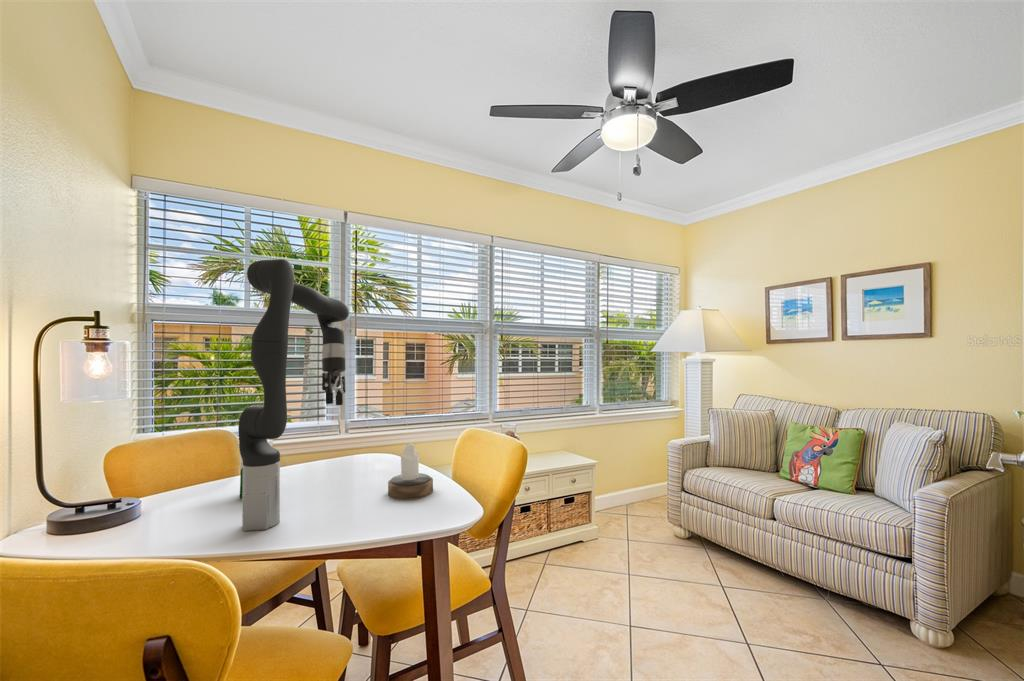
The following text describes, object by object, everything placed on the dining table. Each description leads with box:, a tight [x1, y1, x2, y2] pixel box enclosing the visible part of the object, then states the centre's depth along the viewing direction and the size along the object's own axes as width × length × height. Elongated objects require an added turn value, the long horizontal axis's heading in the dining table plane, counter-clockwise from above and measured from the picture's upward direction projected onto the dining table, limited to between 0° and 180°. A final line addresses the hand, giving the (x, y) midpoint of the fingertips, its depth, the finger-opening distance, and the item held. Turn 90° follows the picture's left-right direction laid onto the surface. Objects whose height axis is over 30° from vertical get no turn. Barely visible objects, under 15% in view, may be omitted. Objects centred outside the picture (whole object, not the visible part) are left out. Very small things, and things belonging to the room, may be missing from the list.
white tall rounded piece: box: [400, 442, 420, 480], centre depth 157 cm, size 6×12×6 cm
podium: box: [387, 473, 434, 500], centre depth 156 cm, size 15×15×5 cm
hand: (334, 404), depth 156 cm, fingers open, 8 cm apart
